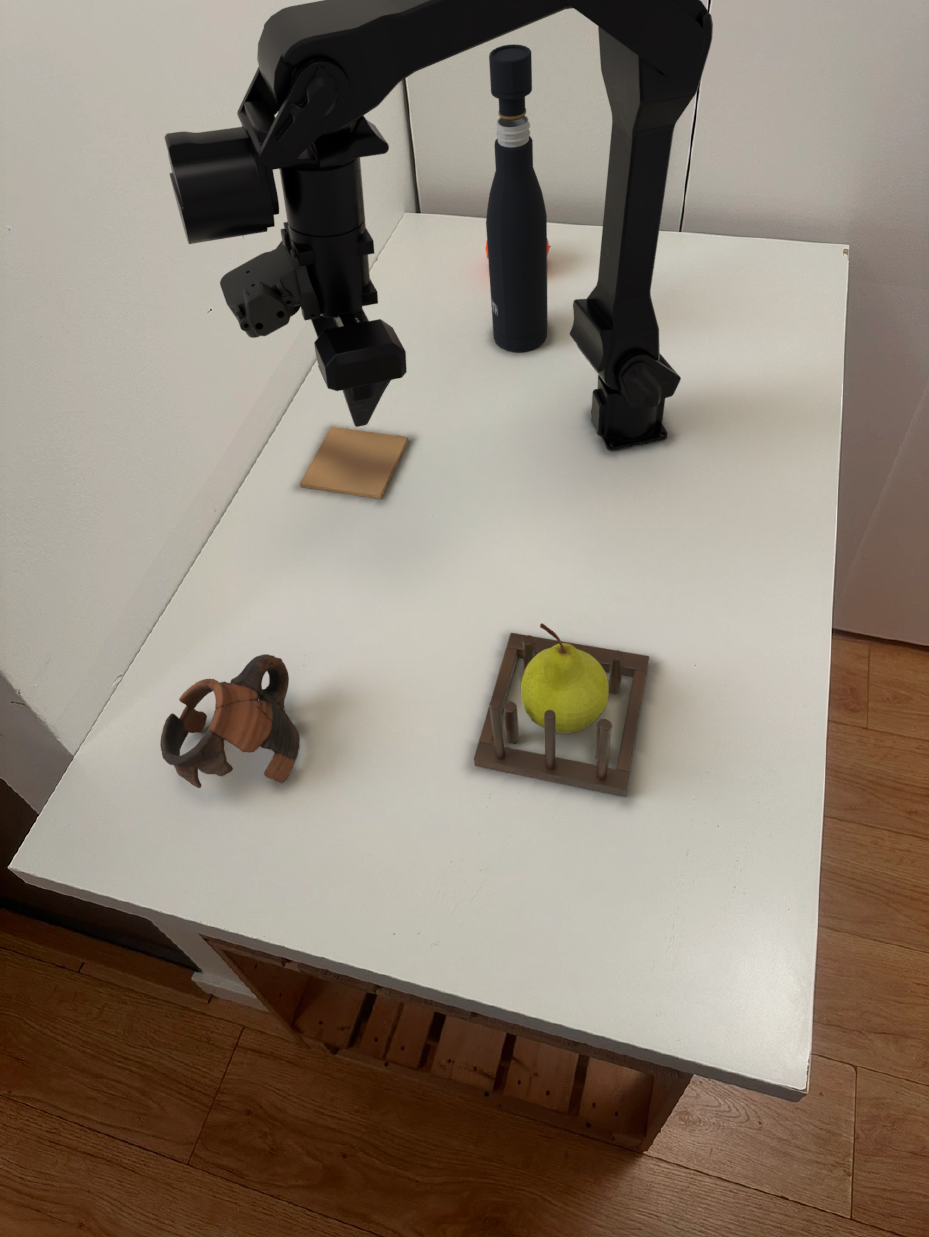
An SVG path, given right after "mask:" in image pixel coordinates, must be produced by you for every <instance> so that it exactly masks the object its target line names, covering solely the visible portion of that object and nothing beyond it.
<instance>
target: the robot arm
mask: <svg viewBox="0 0 929 1237" xmlns="http://www.w3.org/2000/svg"><path fill="white" fill-rule="evenodd" d="M569 9H574V10H575V11H577V12H578V13H579V14H581V15H582V16H583V17H585V18H587V20H589V21H590V22H592V23H593V24H595V25H596V26H597V30H598V31H597V33H598V42H599V60H600V72H601V76H602V80H603V84H604V87H605V91H606V95H607V99H608V103H609V107H610V112H611V119H612V120H611V130H610V131H611V133H610V141H609V142H610V143H609V153H608V154H609V155H608V167H607V175H606V187H605V196H604V197H605V198H604V208H603V209H604V210H603V221H602V230H601V231H602V232H601V240H600V253H599V263H598V264H599V265H598V274H597V275H598V276H597V282H596V285H595V287H594V288H592V290H591V292H590V293H589V294H588V296H587V298H577V299H573V303H572V312H573V322H572V326H571V329H570V331H569V336H570V338H571V339H572V340H573V341H574V343H575V344H576V347H577V348H578V350H579V351H580V352H581V354H582V355H583V356H584V357H585V359H586V360H587V362H588V363H589V364H590V366H591V367H592V368H593V369H594V371H595V372H596V373H597V388H595V389H593V390H592V394H591V395H592V396H591V410H590V416H591V417H590V418H591V419H590V421H591V423H592V425H593V428H594V429H595V432H596V434H597V436H599V437H601V439H602V442H603V444H604V446H605V448H606V450H608V451H610V452H611V451H617V450H623V449H627V448H632V447H636V446H642V445H646V444H651V443H656V442H661V441H665V440H667V439H668V431H667V429H666V427H665V425H664V423H663V420H664V413H665V405H666V399H667V398H672V397H673V396H674V395H675V393H676V390H677V388H678V386H679V384H680V383H681V380H682V378H681V376H680V374H678V373H677V372H676V370H675V369H674V367H672V365H670V363H669V362H668V361H667V360H666V358H665V357H664V356H663V354H662V353H661V350H660V327H659V323H658V320H657V315H656V312H655V308H654V304H653V300H652V295H651V294H652V293H651V292H652V291H651V290H652V284H653V277H654V270H655V263H656V257H657V256H656V255H657V249H658V243H659V235H660V228H661V221H662V214H663V208H664V200H665V194H666V187H667V180H668V173H669V166H670V159H671V152H672V147H673V146H672V145H673V138H674V131H675V128H676V124H677V122H678V121H679V120H680V118H681V117H682V115H683V113H684V112H685V111H686V110H687V107H688V106H689V105H690V103H691V102H692V100H693V99H694V97H695V96H696V94H697V93H698V90H699V87H700V84H701V80H702V76H703V73H704V70H705V67H706V63H707V59H708V56H709V53H710V49H711V46H712V41H713V33H714V22H713V18H712V14H711V13H710V12H709V10H708V9H707V7H706V6H705V5H704V3H703V1H702V0H318V1H317V0H316V1H311V2H306V3H301V4H296V5H290V6H286V7H283V8H281V9H280V10H278V11H276V12H275V13H273V14H272V15H270V16H269V17H268V19H267V20H266V21H265V23H264V24H263V29H262V31H261V34H260V37H259V39H258V42H257V58H256V59H257V60H256V61H257V63H258V67H257V69H256V71H255V74H254V75H253V78H252V80H251V82H250V84H249V86H248V87H247V90H246V93H245V95H244V96H243V98H242V101H241V103H240V105H239V108H238V109H237V112H236V114H237V118H238V119H239V122H240V124H241V126H237V127H229V128H223V129H215V130H208V131H200V132H193V131H192V132H191V131H176V132H167V133H166V134H165V136H164V141H165V145H166V149H167V150H166V151H167V156H168V161H169V165H170V170H171V172H169V178H170V182H171V186H172V190H173V193H174V197H175V201H176V206H177V209H178V212H179V216H180V220H181V224H182V227H183V231H184V235H185V238H186V242H187V244H188V245H195V244H199V243H205V242H213V241H217V240H218V241H219V240H225V239H231V238H236V237H242V236H248V235H255V234H261V233H267V232H268V229H269V228H275V226H276V225H275V224H276V223H275V216H276V215H279V214H280V202H279V196H278V189H277V184H276V180H275V174H274V171H275V170H279V176H280V183H281V188H282V196H283V203H284V208H285V215H286V220H287V221H284V222H282V223H283V228H280V235H281V241H280V242H279V244H278V245H277V246H276V248H274V249H272V250H269V251H265V252H262V253H260V254H258V255H257V256H255V257H253V258H251V259H249V260H247V261H246V262H244V263H242V264H241V265H238V266H237V267H235V268H233V269H231V270H229V271H228V272H226V273H225V274H224V275H223V276H222V277H221V279H220V281H219V286H220V288H221V292H222V294H223V298H224V300H225V303H226V305H227V307H228V308H229V310H230V311H231V313H232V315H233V316H234V317H235V318H236V320H237V322H238V325H239V327H240V329H241V331H243V332H245V333H246V335H247V336H248V337H249V338H251V339H256V338H260V337H266V336H269V335H270V334H272V333H274V332H276V331H278V330H280V329H282V328H283V327H285V326H287V325H288V324H289V323H290V320H291V317H293V316H294V315H296V314H297V313H298V312H299V311H301V316H302V318H303V321H310V322H311V324H312V327H313V330H314V332H315V335H316V337H317V338H316V340H315V341H314V343H313V344H314V353H315V357H316V360H317V364H318V365H317V367H318V369H319V371H320V374H321V377H322V379H323V381H324V383H325V385H326V388H327V389H328V390H332V391H335V392H339V391H341V392H342V393H343V397H344V400H345V402H346V405H347V408H348V412H349V414H350V417H351V420H352V423H353V425H354V427H356V428H359V427H364V426H367V425H368V424H369V423H370V421H371V418H372V416H373V414H374V412H375V411H376V408H377V406H378V404H379V402H380V400H381V398H382V397H383V395H384V393H385V391H386V389H387V387H389V385H390V383H391V382H392V381H393V380H398V379H402V378H403V377H404V376H405V375H406V374H407V373H408V370H407V352H406V349H405V347H404V345H403V344H402V342H401V340H400V339H399V337H398V334H397V333H396V331H395V329H394V327H393V326H391V325H389V323H387V322H385V321H384V320H383V319H381V318H378V319H373V320H369V317H368V316H367V314H366V312H365V310H364V308H363V307H366V306H373V305H377V304H379V295H378V294H379V293H378V290H377V289H376V286H375V284H374V283H373V281H372V280H371V275H370V274H371V272H370V262H369V261H370V260H369V255H373V254H374V255H375V244H374V242H375V240H374V239H373V237H372V236H371V234H370V232H369V230H368V228H367V227H366V226H367V225H366V214H365V200H364V189H363V176H362V165H361V158H367V157H372V156H379V155H385V154H387V153H388V152H389V150H390V145H389V143H388V142H387V140H386V139H385V137H384V136H383V134H381V132H380V130H379V129H378V127H377V126H376V125H375V124H374V123H373V122H371V121H370V120H368V119H367V118H366V117H365V115H366V114H369V113H370V112H371V111H372V110H375V109H376V108H378V107H379V106H380V105H381V104H382V102H383V101H384V100H385V99H386V98H387V97H388V96H389V95H390V93H391V92H392V91H393V90H394V89H395V88H396V87H397V85H399V84H400V83H401V82H402V81H403V80H405V79H407V78H408V77H410V76H411V75H413V74H414V73H416V72H418V71H421V70H423V69H425V68H428V67H431V66H433V65H435V64H438V63H440V62H443V61H445V60H447V59H449V58H451V57H454V56H457V55H459V54H462V53H465V52H467V51H469V50H471V49H474V48H476V47H479V46H482V45H483V44H485V43H488V42H491V41H492V40H495V39H498V38H501V37H503V36H505V35H507V34H510V33H512V32H515V31H516V30H519V29H522V28H524V27H526V26H529V25H531V24H534V23H536V22H538V21H541V20H543V19H545V18H548V17H551V16H553V15H555V14H557V13H560V12H563V11H565V10H569Z"/></svg>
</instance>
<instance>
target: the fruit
mask: <svg viewBox="0 0 929 1237" xmlns="http://www.w3.org/2000/svg"><path fill="white" fill-rule="evenodd" d="M539 628H540V629H543V630H544V631H546V632H547V633H548V634H549V635H551V636H552V638H554V639H555V640H557V641H558V642H559V644H556V645H554V646H553V647H552V648H548V649H544V650H543V651H541V652H540V653H538V654H537V655H536V656H535V657H534V658H533V659H532V660H531V661H530V662H529V663H528V665H527V667H526V669H525V672H524V671H523V674H522V678H521V684H520V695H521V702H522V705H523V709H524V712H525V713H526V714H527V716H528V717H529V718H530V720H531V721H532V722H533V723H535V724H536V725H537V726H539V727H541V728H543V729H544V713H545V712H546V711H547V710H553V711H554V712H555V715H556V733H558V734H574V733H576V732H580V731H582V730H584V729H585V728H587V727H589V726H591V725H592V724H593V723H594V722H595V721H596V720H597V719H598V718H599V717H600V715H601V714H602V713H603V712H604V711H605V709H606V707H607V705H608V701H609V693H610V691H609V678H608V675H607V672H605V671H604V669H603V668H602V666H601V665H600V663H599V662H598V661H597V660H596V659H595V658H594V657H592V656H591V655H590V654H588V653H586V652H584V651H581V650H578V649H576V648H575V647H574V646H573V645H571V644H567V643H562V642H561V641H562V640H561V638H560V637H559V636H558V635H557V633H556V632H555V631H554V630H552V629H551V628H549V627H548V626H547V625H545V623H540V624H539Z"/></svg>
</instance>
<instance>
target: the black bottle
mask: <svg viewBox="0 0 929 1237" xmlns="http://www.w3.org/2000/svg"><path fill="white" fill-rule="evenodd" d="M488 58H489V59H488V62H489V64H488V65H489V81H490V94H491V95H492V97H493V98H495V99H498V117H499V118H498V119H497V120H496V125H495V130H496V135H495V137H496V139H495V141H494V145H493V146H494V161H495V162H494V164H495V172H494V175H493V179H492V182H491V186H490V190H489V195H488V196H489V197H488V200H487V201H488V202H487V208H486V217H485V218H486V219H485V227H486V228H485V230H486V241H487V245H488V258H487V260H488V272H489V273H488V274H489V275H488V276H489V288H490V290H489V292H490V304H491V316H492V317H491V320H492V334H493V340H494V343H495V344H496V346H498V347H499V348H501V349H503V350H505V351H507V352H511V353H525V352H530V351H533V350H536V349H538V348H540V347H541V346H542V345H543V344H545V343H546V341H547V339H548V327H549V326H548V324H549V323H548V256H547V239H548V220H547V219H548V216H547V210H546V204H545V199H544V194H543V191H542V187H541V184H540V182H539V180H538V177H537V174H536V171H535V168H534V148H533V146H534V145H533V142H534V141H533V138H532V137H531V131H530V129H531V123H530V122H529V118H528V116H526V115H527V108H526V97H527V96H528V95H530V94H531V93H532V91H533V73H532V72H533V68H532V67H533V66H532V50H531V49H530V47H528V46H526V45H524V44H523V45H522V44H505V45H500V46H497V47H495V48H494V49H492V50H491V51H490V52H489V55H488Z"/></svg>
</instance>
